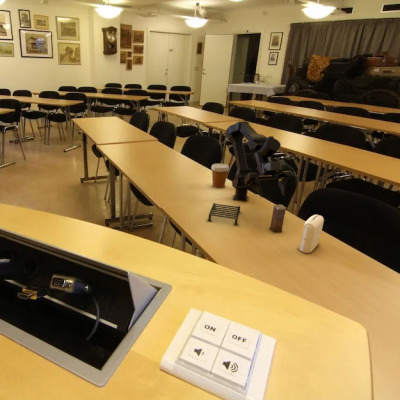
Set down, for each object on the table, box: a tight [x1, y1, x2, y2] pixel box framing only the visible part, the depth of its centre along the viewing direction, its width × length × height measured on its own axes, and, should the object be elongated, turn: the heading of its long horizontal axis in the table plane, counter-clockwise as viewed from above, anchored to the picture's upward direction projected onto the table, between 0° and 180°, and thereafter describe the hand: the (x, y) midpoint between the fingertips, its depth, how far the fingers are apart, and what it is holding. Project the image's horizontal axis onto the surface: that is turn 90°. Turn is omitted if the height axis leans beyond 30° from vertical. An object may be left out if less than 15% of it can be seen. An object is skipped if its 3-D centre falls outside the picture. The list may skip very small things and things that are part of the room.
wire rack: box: [207, 202, 241, 226], centre depth 142 cm, size 14×12×3 cm
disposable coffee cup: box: [210, 163, 230, 189], centre depth 176 cm, size 10×10×12 cm
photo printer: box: [298, 214, 325, 254], centre depth 115 cm, size 10×4×12 cm, turn 133°
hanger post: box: [269, 204, 287, 233], centre depth 128 cm, size 3×3×11 cm
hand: (273, 196), depth 130 cm, fingers open, 9 cm apart
